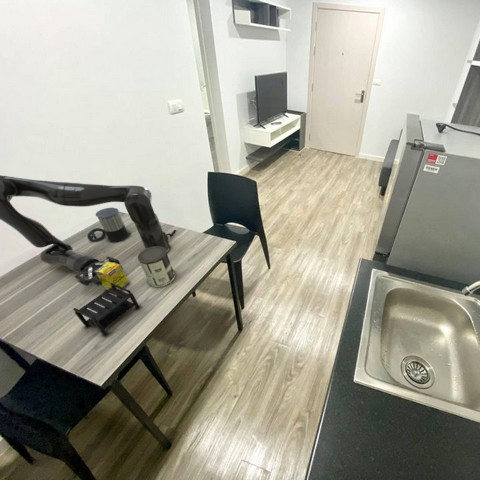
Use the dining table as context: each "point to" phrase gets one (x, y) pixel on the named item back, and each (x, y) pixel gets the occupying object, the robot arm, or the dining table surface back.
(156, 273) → the coffee can
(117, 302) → the rack
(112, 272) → the supplement box
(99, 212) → the milk frother
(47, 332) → the dining table surface
